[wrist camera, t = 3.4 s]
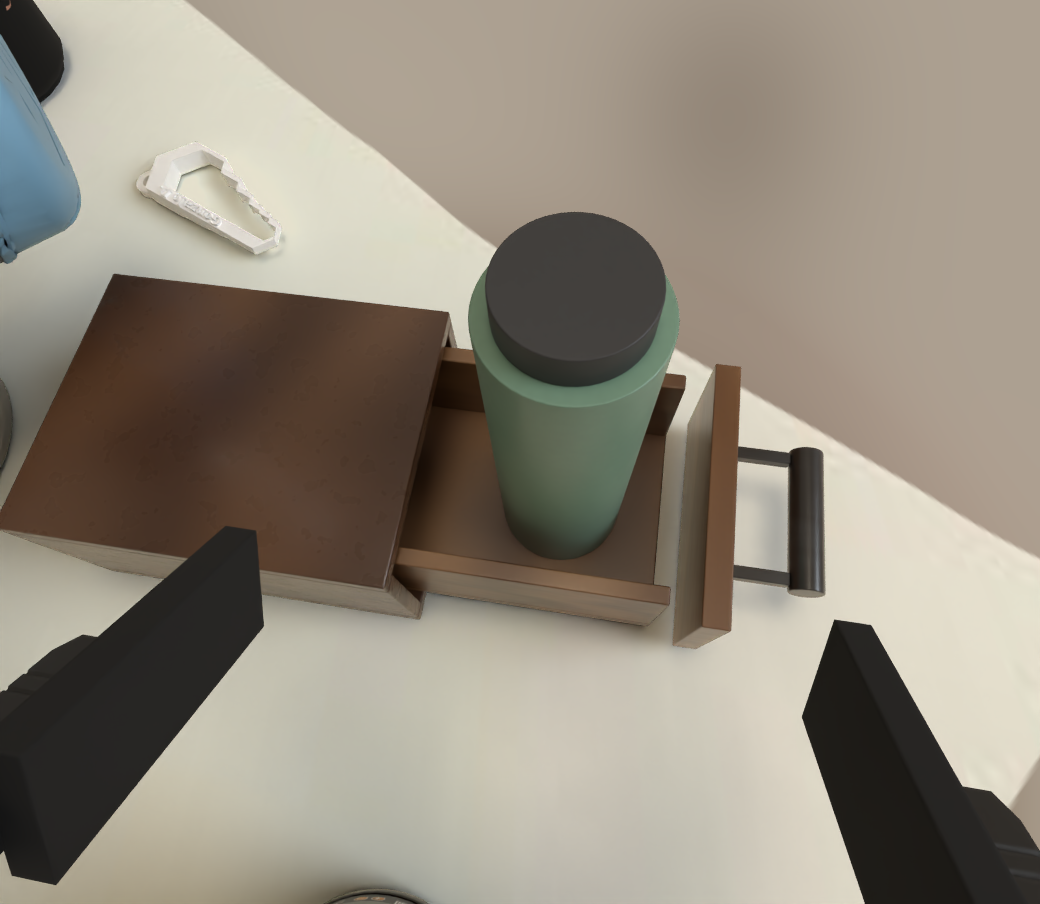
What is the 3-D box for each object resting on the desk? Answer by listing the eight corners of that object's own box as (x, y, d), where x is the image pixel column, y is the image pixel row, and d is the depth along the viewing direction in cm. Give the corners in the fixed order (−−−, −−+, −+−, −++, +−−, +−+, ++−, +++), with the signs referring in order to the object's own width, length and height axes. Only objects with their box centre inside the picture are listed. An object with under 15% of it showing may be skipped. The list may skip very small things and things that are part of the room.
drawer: (795, 437, 37) (845, 378, 31) (794, 665, 33) (854, 650, 26) (427, 390, 39) (404, 326, 33) (377, 599, 35) (339, 571, 28)
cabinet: (468, 393, 40) (449, 311, 32) (420, 620, 35) (383, 589, 27) (195, 359, 42) (112, 272, 34) (111, 570, 37) (-9, 527, 29)
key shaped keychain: (317, 218, 46) (309, 199, 44) (269, 268, 44) (259, 250, 43) (183, 145, 49) (170, 126, 47) (134, 190, 47) (119, 171, 46)
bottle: (483, 526, 35) (419, 322, 17) (537, 434, 37) (530, 166, 19) (585, 580, 33) (628, 421, 16) (636, 482, 35) (725, 243, 18)
